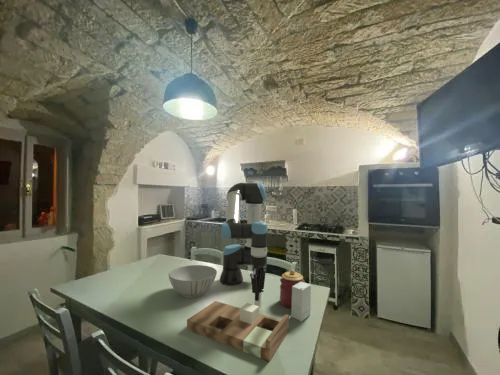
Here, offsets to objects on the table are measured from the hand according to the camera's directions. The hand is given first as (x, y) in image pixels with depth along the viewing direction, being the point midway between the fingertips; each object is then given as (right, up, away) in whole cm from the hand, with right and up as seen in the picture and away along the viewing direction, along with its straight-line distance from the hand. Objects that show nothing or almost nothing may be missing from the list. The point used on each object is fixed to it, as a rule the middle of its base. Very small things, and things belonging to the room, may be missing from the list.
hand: (257, 306), depth 109 cm
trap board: (-9, -5, -10) cm, 14 cm away
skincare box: (+21, -6, +2) cm, 22 cm away
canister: (+19, -7, +16) cm, 25 cm away
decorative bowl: (-36, -6, +25) cm, 45 cm away
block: (-4, -1, -8) cm, 9 cm away
